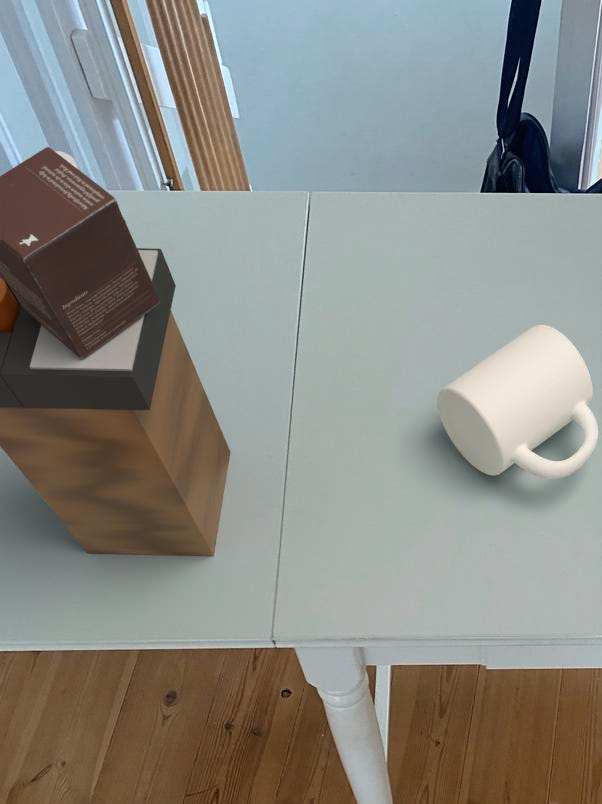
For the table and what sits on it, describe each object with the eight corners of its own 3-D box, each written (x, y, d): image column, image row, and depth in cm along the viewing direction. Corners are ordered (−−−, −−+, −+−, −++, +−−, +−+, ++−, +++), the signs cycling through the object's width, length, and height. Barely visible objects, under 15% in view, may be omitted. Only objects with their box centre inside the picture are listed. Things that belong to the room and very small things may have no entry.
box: (165, 305, 52) (119, 198, 45) (82, 363, 50) (21, 261, 43) (101, 253, 54) (48, 142, 47) (19, 307, 52) (-49, 201, 45)
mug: (437, 433, 74) (434, 369, 67) (524, 372, 77) (530, 304, 70) (533, 526, 71) (540, 468, 63) (621, 458, 73) (637, 396, 66)
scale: (-49, 406, 53) (-80, 370, 50) (-9, 281, 57) (-35, 241, 54) (150, 410, 53) (131, 374, 50) (176, 285, 57) (160, 245, 54)
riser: (87, 553, 69) (-33, 407, 53) (111, 448, 73) (6, 282, 57) (213, 556, 69) (133, 410, 53) (230, 451, 73) (160, 285, 57)
